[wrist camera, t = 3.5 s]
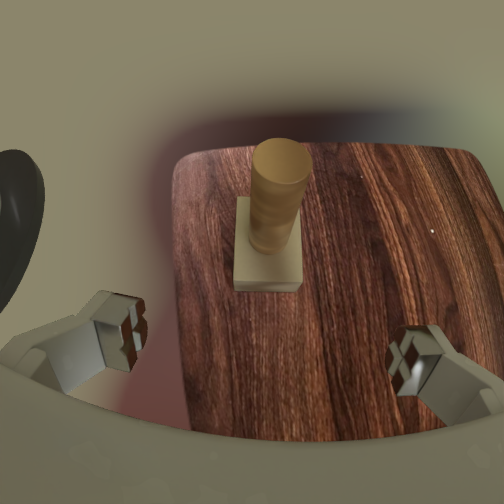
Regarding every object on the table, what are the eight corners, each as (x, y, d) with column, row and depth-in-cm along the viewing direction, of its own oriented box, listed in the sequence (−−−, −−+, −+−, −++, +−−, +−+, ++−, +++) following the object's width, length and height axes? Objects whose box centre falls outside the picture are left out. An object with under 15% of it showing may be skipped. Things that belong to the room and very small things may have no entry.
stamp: (234, 290, 24) (226, 219, 12) (237, 214, 26) (235, 111, 15) (295, 292, 24) (341, 224, 13) (293, 216, 26) (323, 117, 15)
